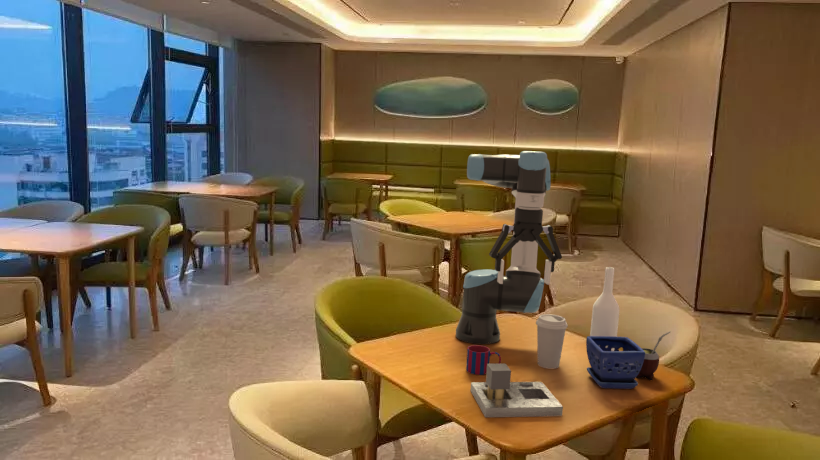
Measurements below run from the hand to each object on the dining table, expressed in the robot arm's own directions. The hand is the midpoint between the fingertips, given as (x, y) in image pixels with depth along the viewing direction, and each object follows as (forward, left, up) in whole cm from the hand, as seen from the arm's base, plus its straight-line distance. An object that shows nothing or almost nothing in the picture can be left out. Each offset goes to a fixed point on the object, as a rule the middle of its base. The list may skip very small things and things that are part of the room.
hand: (523, 283), depth 179 cm
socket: (+15, -5, -29) cm, 33 cm away
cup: (-7, -8, -29) cm, 31 cm away
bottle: (-16, +33, -29) cm, 47 cm away
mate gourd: (-2, +41, -29) cm, 50 cm away
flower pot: (+2, +28, -29) cm, 40 cm away
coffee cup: (-12, +14, -29) cm, 34 cm away
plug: (+15, -10, -28) cm, 34 cm away
